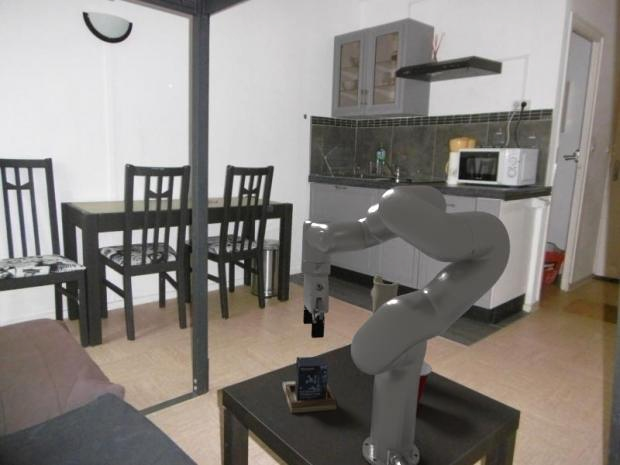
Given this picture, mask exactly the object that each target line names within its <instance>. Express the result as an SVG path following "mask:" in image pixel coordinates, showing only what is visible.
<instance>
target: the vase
mask: <svg viewBox="0 0 620 465" xmlns="http://www.w3.org/2000/svg"><path fill="white" fill-rule="evenodd" d="M383 280H384V279H383V277H382V276H380V275H375V277H374V278H373V287H372V288H371V290H370V296H371V298H372V315H373V314H374V313H375V312H376V311H377V310H378V309H379V308H380V307H381V306H382V305H383V304H384V303H385V302H387V301H388V300H390V299H392V298H394V297H397V296H398V288H399V285H400V282H394V283H392V284H387V283H384V281H383Z"/></svg>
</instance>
